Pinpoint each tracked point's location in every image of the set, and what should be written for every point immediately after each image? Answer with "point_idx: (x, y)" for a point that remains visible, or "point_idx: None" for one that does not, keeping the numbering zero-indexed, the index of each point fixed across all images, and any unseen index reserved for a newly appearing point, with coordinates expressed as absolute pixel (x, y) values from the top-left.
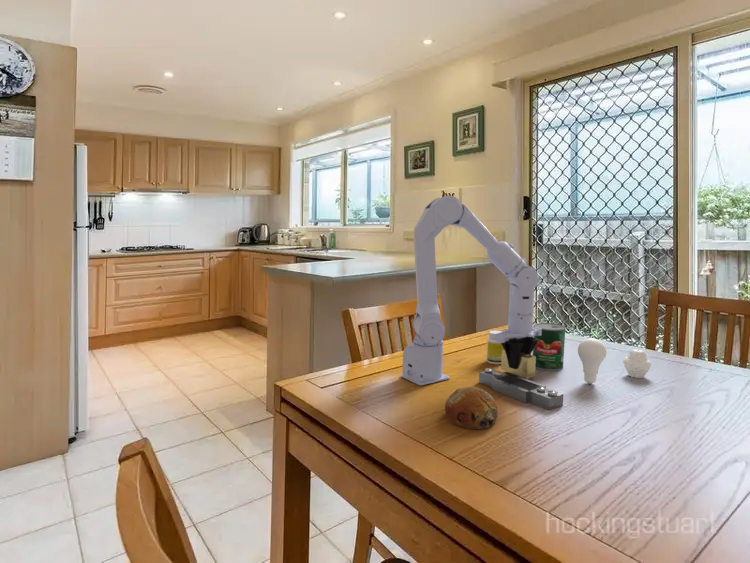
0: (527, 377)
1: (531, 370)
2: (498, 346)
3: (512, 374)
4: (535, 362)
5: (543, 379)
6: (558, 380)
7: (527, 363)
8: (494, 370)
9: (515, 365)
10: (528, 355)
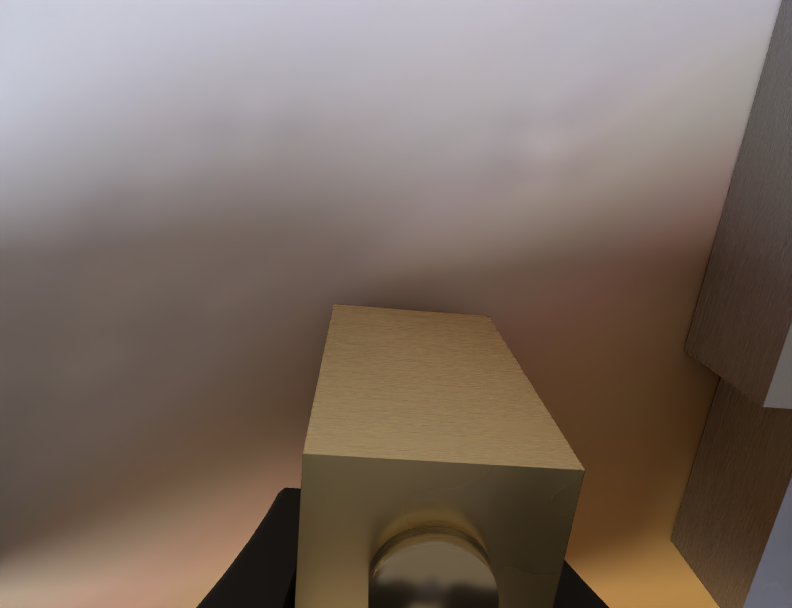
0: (477, 317)
1: (410, 343)
2: None
3: (778, 389)
4: (317, 387)
5: (244, 227)
6: (104, 80)
7: (543, 412)
8: (772, 590)
9: None
10: (463, 546)
